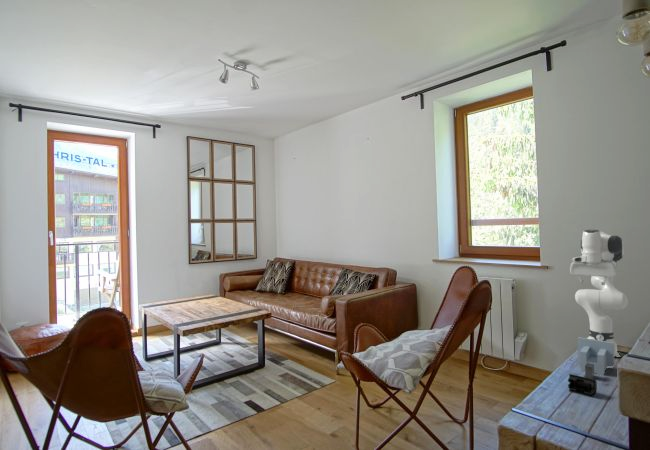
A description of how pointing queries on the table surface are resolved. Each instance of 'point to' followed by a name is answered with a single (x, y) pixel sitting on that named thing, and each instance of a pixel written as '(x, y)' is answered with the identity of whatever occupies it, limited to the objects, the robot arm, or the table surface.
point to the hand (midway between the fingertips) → (592, 284)
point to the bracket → (589, 371)
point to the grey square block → (595, 354)
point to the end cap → (582, 385)
